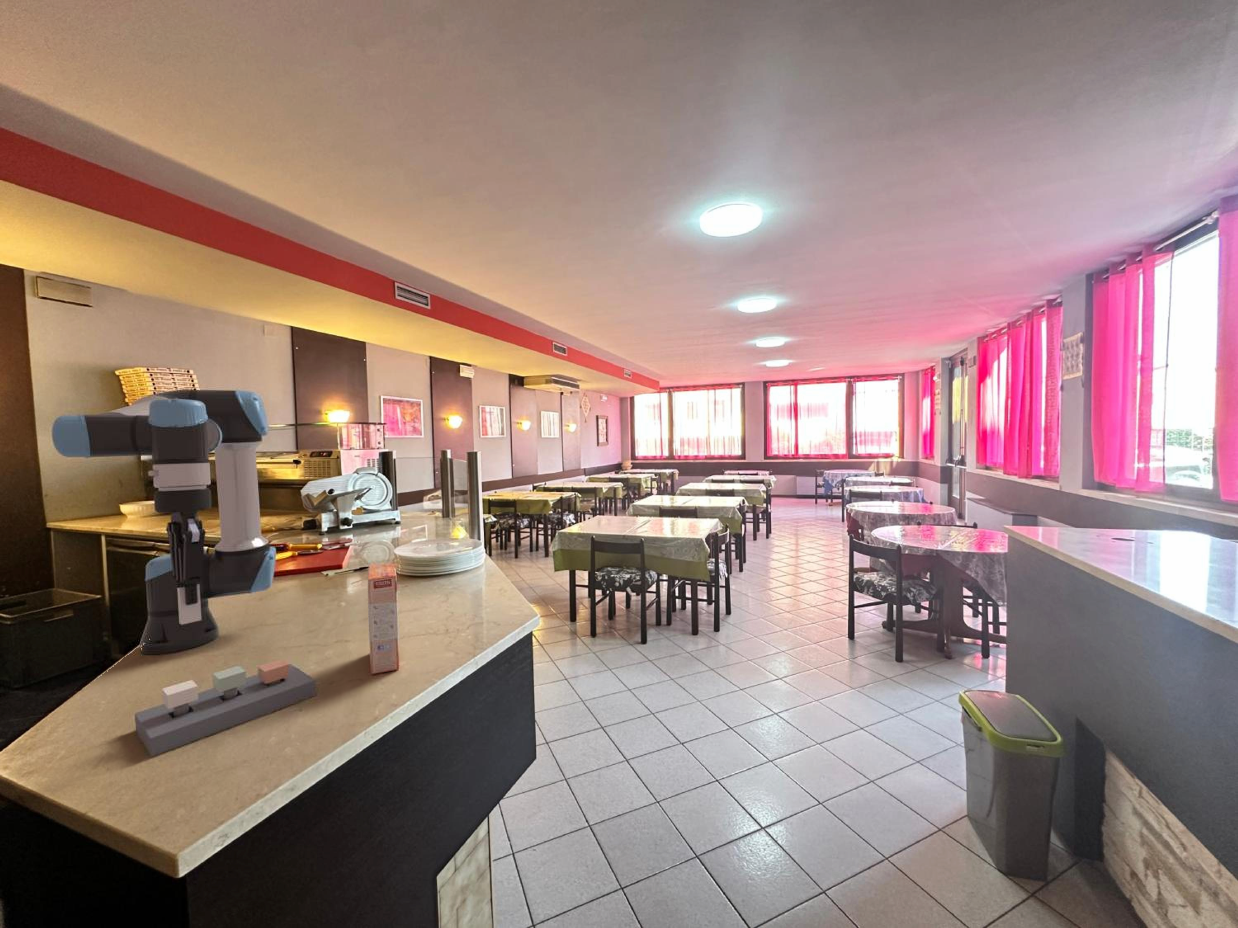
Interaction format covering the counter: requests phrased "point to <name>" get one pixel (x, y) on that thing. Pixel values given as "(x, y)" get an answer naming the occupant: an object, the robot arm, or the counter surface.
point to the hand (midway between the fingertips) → (190, 621)
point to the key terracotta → (273, 672)
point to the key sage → (229, 681)
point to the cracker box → (383, 618)
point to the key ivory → (180, 697)
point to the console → (220, 711)
